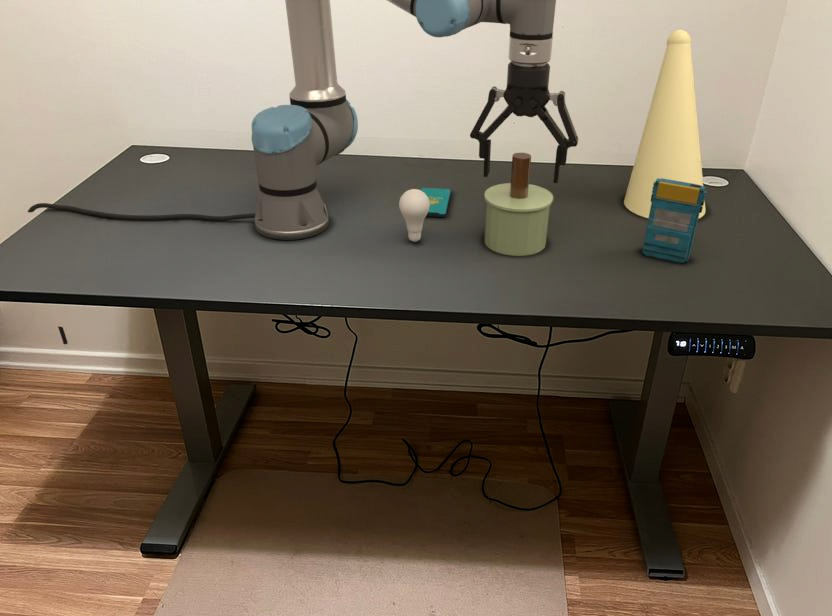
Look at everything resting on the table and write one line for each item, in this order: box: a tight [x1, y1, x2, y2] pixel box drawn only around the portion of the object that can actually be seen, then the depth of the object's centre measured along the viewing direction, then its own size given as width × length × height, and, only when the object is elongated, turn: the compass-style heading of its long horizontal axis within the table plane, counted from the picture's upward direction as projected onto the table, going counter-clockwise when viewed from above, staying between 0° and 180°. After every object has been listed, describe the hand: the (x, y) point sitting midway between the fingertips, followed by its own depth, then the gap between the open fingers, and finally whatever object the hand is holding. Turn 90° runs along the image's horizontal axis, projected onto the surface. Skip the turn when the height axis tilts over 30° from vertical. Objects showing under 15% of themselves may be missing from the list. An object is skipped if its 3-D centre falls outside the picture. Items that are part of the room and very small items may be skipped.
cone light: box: [623, 29, 707, 220], centre depth 158 cm, size 25×18×35 cm
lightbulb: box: [398, 188, 430, 243], centre depth 145 cm, size 6×6×11 cm
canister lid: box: [483, 152, 554, 212], centre depth 141 cm, size 14×14×9 cm
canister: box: [483, 201, 551, 257], centre depth 146 cm, size 13×13×10 cm
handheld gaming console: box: [641, 178, 707, 264], centre depth 140 cm, size 10×4×15 cm, turn 64°
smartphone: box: [420, 187, 452, 218], centre depth 164 cm, size 7×1×15 cm
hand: (520, 177), depth 140 cm, fingers open, 13 cm apart
